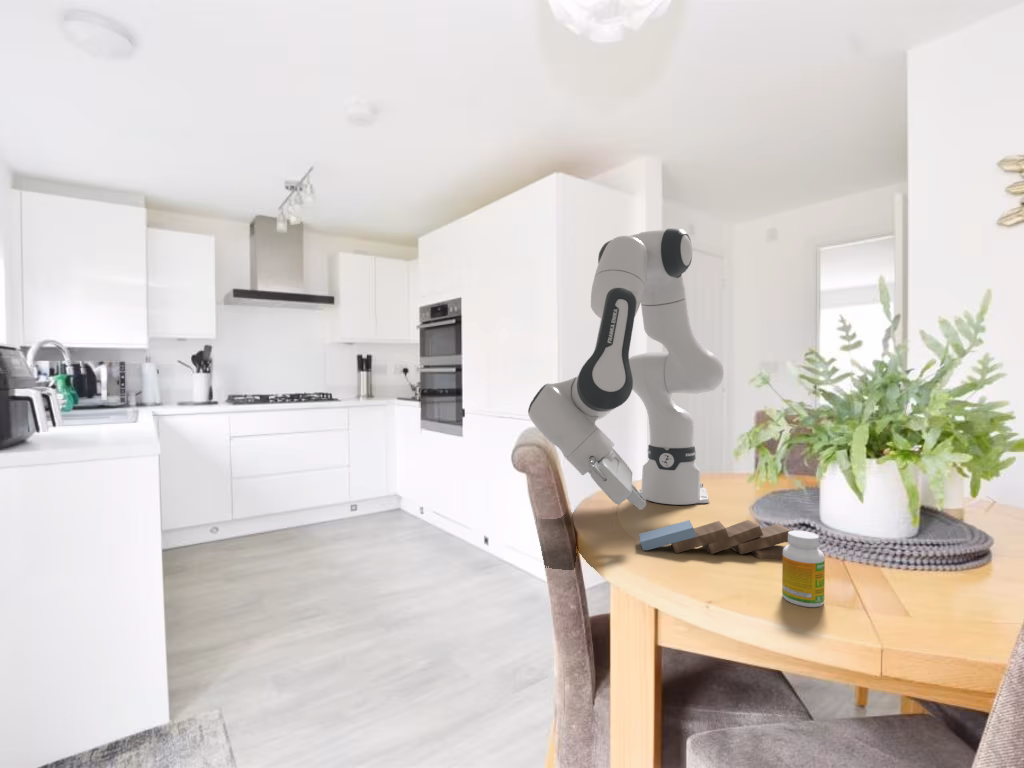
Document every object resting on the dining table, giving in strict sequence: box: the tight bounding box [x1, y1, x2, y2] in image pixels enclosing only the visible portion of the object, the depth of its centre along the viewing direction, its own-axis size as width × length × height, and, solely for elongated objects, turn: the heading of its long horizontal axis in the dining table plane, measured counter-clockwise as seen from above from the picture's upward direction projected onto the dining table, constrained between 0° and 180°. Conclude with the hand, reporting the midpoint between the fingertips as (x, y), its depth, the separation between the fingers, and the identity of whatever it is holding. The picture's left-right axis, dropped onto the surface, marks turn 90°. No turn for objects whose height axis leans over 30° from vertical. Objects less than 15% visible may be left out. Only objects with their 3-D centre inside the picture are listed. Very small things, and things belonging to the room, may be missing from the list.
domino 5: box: [751, 544, 786, 561], centre depth 95 cm, size 2×5×10 cm
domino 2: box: [670, 520, 729, 554], centre depth 98 cm, size 2×5×10 cm
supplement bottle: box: [781, 529, 826, 608], centre depth 76 cm, size 5×5×10 cm
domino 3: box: [701, 519, 763, 555], centre depth 97 cm, size 2×5×10 cm
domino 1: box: [638, 519, 696, 551], centre depth 99 cm, size 2×5×10 cm
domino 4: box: [730, 523, 792, 555], centre depth 97 cm, size 2×5×10 cm
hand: (643, 505), depth 100 cm, fingers closed
